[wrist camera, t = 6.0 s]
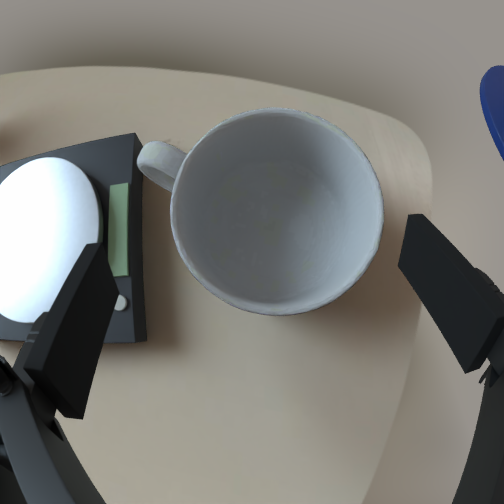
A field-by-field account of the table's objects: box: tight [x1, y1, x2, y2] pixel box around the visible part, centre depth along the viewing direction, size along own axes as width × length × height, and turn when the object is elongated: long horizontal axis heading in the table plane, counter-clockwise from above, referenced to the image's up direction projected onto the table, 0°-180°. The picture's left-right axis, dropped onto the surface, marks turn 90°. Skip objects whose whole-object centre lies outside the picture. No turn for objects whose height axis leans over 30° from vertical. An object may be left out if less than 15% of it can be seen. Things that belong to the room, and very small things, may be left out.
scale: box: [0, 133, 147, 343], centre depth 21 cm, size 16×15×3 cm
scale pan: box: [0, 157, 104, 324], centre depth 19 cm, size 12×12×1 cm
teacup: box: [137, 108, 384, 316], centre depth 19 cm, size 14×11×8 cm
